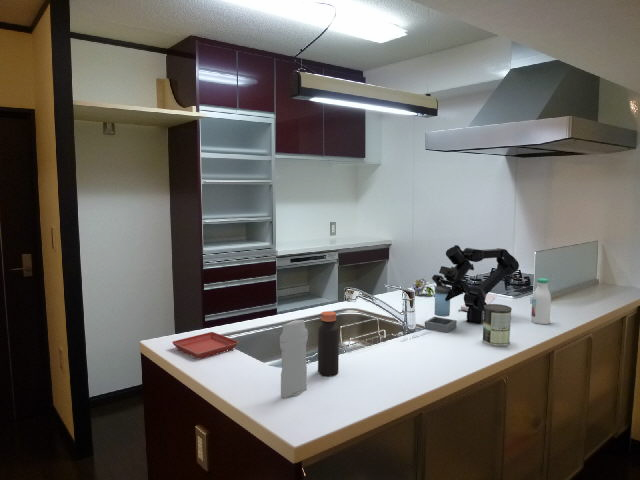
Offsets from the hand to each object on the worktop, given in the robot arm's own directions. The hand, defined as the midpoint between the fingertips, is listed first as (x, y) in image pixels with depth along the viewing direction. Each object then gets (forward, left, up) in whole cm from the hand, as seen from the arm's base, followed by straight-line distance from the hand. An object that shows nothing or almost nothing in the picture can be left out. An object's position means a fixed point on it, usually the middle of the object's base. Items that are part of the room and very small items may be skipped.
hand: (440, 298), depth 208 cm
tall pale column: (+9, +89, -13) cm, 91 cm away
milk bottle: (-33, -37, -13) cm, 51 cm away
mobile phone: (-2, -44, -13) cm, 46 cm away
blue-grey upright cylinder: (-1, -1, -7) cm, 7 cm away
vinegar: (+10, +70, -13) cm, 72 cm away
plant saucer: (+60, +79, -14) cm, 100 cm away
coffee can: (-25, +4, -13) cm, 29 cm away
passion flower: (+33, -57, -13) cm, 67 cm away
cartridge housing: (0, -1, -13) cm, 13 cm away
